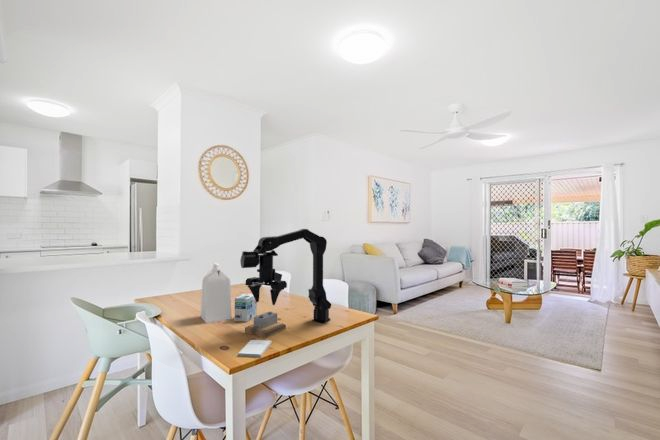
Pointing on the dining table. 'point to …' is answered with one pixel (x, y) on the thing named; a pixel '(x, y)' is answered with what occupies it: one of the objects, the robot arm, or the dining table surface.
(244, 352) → the external hard drive
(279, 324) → the tray
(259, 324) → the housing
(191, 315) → the dining table surface
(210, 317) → the milk
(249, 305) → the light bulb box
